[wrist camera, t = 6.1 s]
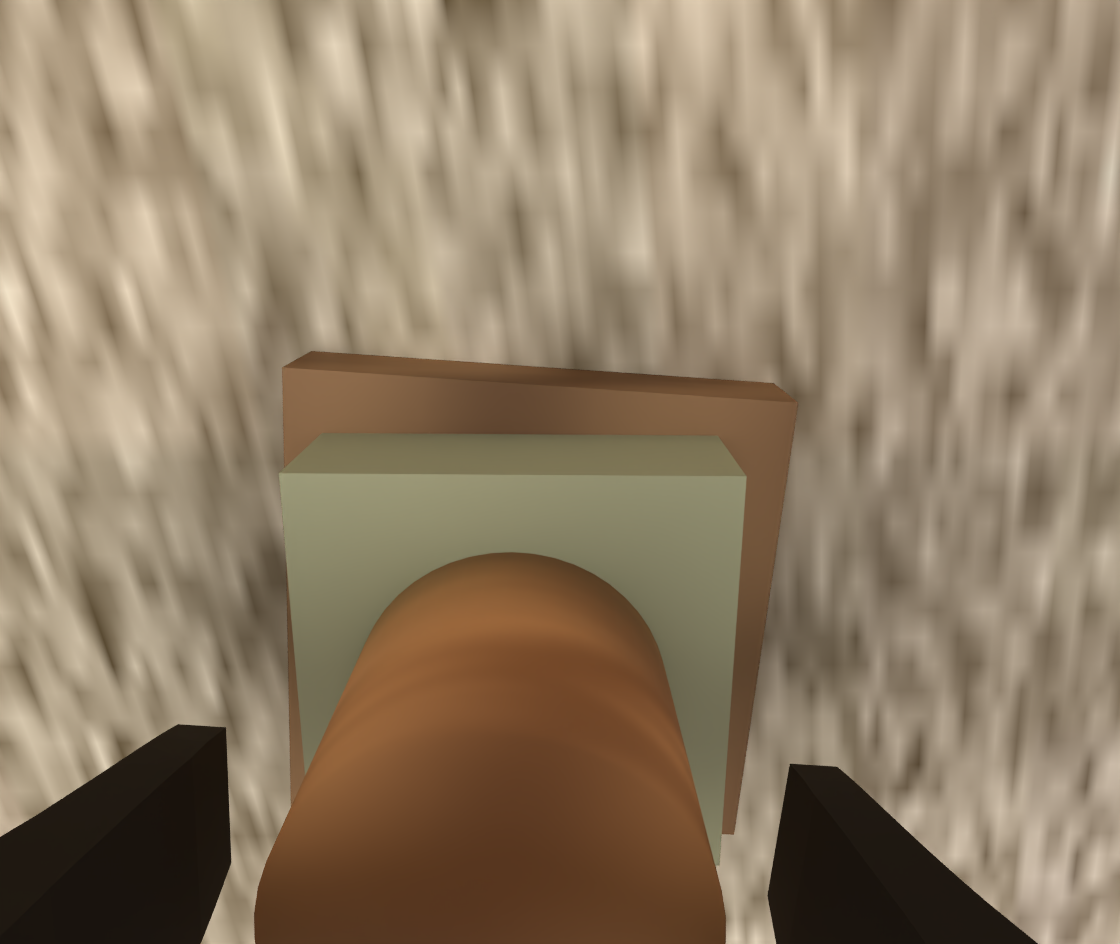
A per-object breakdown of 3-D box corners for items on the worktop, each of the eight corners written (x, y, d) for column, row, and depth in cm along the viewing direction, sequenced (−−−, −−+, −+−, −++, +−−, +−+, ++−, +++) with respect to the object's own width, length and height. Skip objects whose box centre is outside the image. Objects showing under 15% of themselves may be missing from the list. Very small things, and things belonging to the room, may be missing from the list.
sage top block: (717, 435, 16) (746, 476, 13) (697, 776, 18) (719, 865, 15) (321, 432, 16) (279, 473, 13) (346, 773, 18) (312, 863, 15)
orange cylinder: (727, 648, 14) (819, 870, 9) (564, 876, 15) (571, 1181, 10) (451, 493, 13) (393, 646, 8) (302, 745, 14) (175, 1006, 10)
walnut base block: (765, 377, 18) (798, 402, 15) (712, 761, 20) (733, 834, 18) (319, 346, 18) (281, 367, 15) (322, 737, 20) (291, 809, 18)
